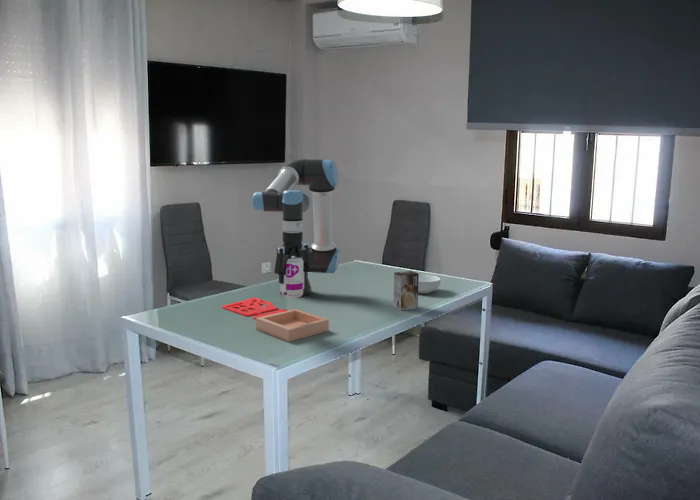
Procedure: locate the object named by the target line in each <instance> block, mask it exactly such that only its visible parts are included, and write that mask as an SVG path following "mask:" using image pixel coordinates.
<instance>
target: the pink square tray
mask: <svg viewBox="0 0 700 500" xmlns="http://www.w3.org/2000/svg"><path fill="white" fill-rule="evenodd" d="M329 325H330V321H329V319H328V318H325V317H322V316H319V315H315V314H312V313H309V312H306V311H303V310H300V309H297V308H294V309H289V311H284V312H280V313H276V314H271V315H267V316H262V317H258V318H256V320H255V330H257V331H260V332H261V333H262V332H263V333H265V334H267V335H270V336H271V337H275V338H277V339H278V338H279V340H282V341H286V342H293V341H296V340H299V339H305V338H306V337H307V338H308V337H311V336H314V335H319V334H321V333H322V334H323V333H326V332H328V331H329V330H330V329H329Z"/></svg>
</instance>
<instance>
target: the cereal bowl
mask: <svg viewBox="0 0 700 500" xmlns="http://www.w3.org/2000/svg"><path fill="white" fill-rule="evenodd" d="M440 286H441V278H440V277H439V276H436V275H431V274H419V280H418V294H420V295H421V294H422V295H424V294H425V295H426V294H430V293H431V292H434V291H436V290H437V289H439V287H440Z"/></svg>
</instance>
